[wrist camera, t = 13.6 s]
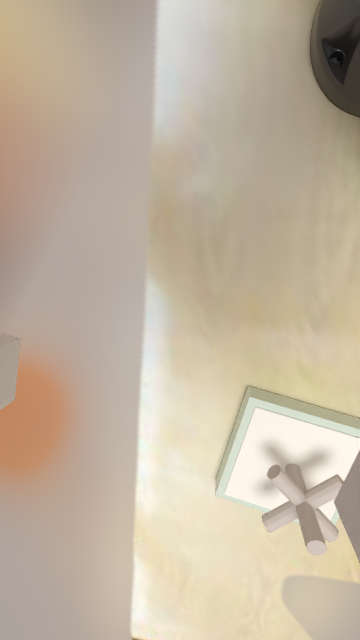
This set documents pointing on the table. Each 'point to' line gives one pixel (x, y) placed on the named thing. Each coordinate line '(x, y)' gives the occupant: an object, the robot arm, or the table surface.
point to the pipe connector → (303, 506)
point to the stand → (284, 449)
